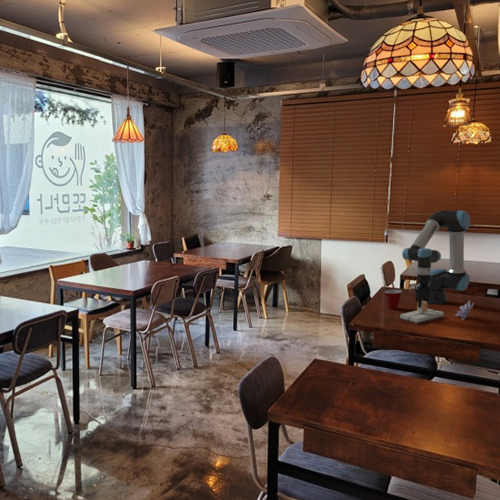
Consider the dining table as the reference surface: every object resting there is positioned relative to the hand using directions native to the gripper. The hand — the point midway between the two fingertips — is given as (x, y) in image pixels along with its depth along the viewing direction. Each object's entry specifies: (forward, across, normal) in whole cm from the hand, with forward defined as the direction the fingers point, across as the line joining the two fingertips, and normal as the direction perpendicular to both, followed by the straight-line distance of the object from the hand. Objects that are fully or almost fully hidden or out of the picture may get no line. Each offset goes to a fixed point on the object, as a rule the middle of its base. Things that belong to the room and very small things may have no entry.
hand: (422, 312), depth 277 cm
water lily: (+4, +23, -13) cm, 27 cm away
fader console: (+4, 0, 0) cm, 4 cm away
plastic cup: (+4, +5, +26) cm, 27 cm away
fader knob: (+3, 0, 0) cm, 3 cm away
